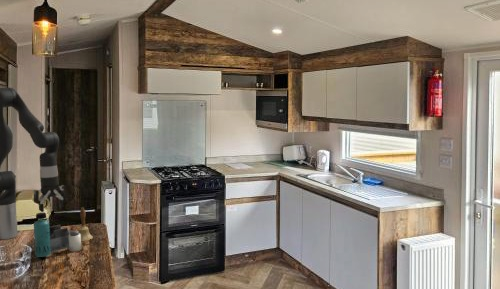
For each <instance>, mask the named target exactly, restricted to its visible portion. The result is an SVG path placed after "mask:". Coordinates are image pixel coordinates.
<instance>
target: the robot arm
mask: <svg viewBox="0 0 500 289" xmlns="http://www.w3.org/2000/svg"><path fill="white" fill-rule="evenodd" d="M4 108H13V109H14V110H15V111H17V114H18V121H19V124H20V126H22V128H23V129H24V130H25V131H26V132H27V133H28V134H29V136H30V138H31V140H32V142H33V144H34V145H35V146H36V147H37V148H39V149H45V151H44V152H42V153H41V154H39V179H40V180H39V181H40V189H34V190H33V203H34V204H38V210H39V212H40V213H45V206H44V205H45V204H44V202H45V200H47V199H49V198H53V197H55V198H57V199H58V201H57V202H58V208H59V209H63V208H64V199H67V197H68V193H67V186H66V185H64V184H62V185H59V184H60V183H59V171H58V162H57V154H58V150H59V145H60V137H59V136H58V134H57V133H56V132H54V131H46V132H44V130H45V126H44V124H43V123H42V122H41V121H40V120H39V119H38V118H37V117H36V116H35V115H34V114H33V112H31V110H30V109H29V108H28V106H27V104H26V103H25V101H24V100H23V98H22V97H21V96H20V94H19V93H18V91H17V90H15V89H14V88H12V87H0V169H1V167H2V164H3V163H4V161H5V159H6V158H7V157H8V155H9V154H10V152H11V151H12V148H13V145H14V144H13V143H14V142H13V141H14V140H13V138H14V137H13V136H14V134H13V132H12V129H11V128H10V126H9V125H8V123H7V122H6V121H5V118H4V117H5V116H4ZM16 183H17V180H16V176H15V173H14V172H13V170H5V171H3V170H2V171H0V191H4V192H3V193H2V194H0V240H8V239H9V240H10V239H13V238H16V237H18V235H19V233H18V219H17V217H18V216H17V204H16V203H17V202H16V197H17V192H16V190H17V189H16V188H17V187H16ZM59 191H61V193H59ZM40 193H41V196H39V195H40Z"/></svg>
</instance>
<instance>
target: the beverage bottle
mask: <svg viewBox="0 0 500 289" xmlns="http://www.w3.org/2000/svg"><path fill="white" fill-rule="evenodd" d="M35 219H36V220H37V221H34V223H33V235H34V254H35V257H38V258H44V257H47V256H49V255H51V253H52V252H51V246H50V241H51V240H50V229H49V227H50V222H49V220H47V214H46V212H38V213H36V214H35Z"/></svg>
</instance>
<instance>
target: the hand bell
mask: <svg viewBox="0 0 500 289" xmlns="http://www.w3.org/2000/svg"><path fill="white" fill-rule="evenodd" d="M79 216H80V220H81V221H80V222H81V227H80V228H79V229H78V231H79V233H80V234H81V242H87V241H90V239H91V240H92V239H94V237H93V235H91V233H90V230H89V227H88V226H86V210H85V208H84V207H83V206H82V207H81V208H80V211H79Z"/></svg>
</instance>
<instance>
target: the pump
mask: <svg viewBox="0 0 500 289" xmlns="http://www.w3.org/2000/svg"><path fill="white" fill-rule="evenodd" d="M70 231H71V232H70V234H69V235H68V236H69V248H68V251H69V252H79V251H81V250H82V241H81V234H80V233H79V230H70Z"/></svg>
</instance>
